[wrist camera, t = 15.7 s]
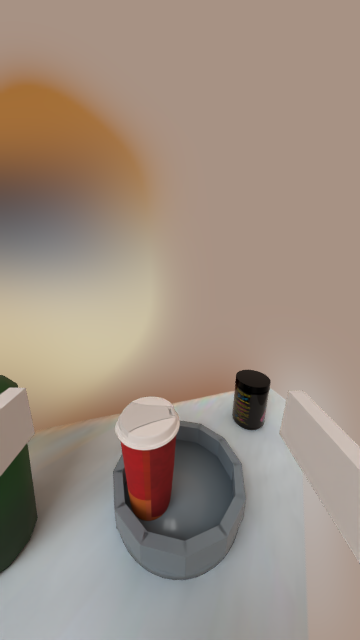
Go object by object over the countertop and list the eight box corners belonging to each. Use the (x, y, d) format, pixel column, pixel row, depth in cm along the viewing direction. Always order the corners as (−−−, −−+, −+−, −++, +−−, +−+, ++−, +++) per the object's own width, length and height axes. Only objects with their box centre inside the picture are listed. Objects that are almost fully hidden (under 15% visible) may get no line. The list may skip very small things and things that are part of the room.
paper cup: (174, 466, 33) (175, 391, 29) (182, 525, 25) (185, 435, 22) (124, 474, 31) (118, 396, 28) (118, 538, 24) (109, 444, 20)
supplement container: (260, 437, 40) (268, 391, 37) (227, 423, 44) (232, 380, 41) (266, 416, 46) (272, 375, 43) (236, 405, 49) (240, 366, 46)
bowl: (91, 496, 29) (88, 473, 28) (174, 425, 43) (174, 407, 42) (188, 641, 18) (190, 613, 17) (259, 484, 32) (263, 462, 30)
